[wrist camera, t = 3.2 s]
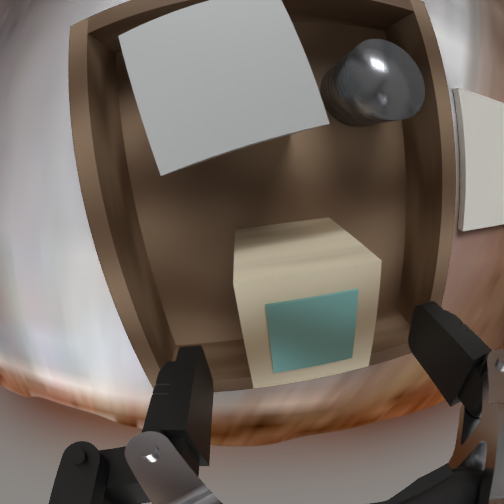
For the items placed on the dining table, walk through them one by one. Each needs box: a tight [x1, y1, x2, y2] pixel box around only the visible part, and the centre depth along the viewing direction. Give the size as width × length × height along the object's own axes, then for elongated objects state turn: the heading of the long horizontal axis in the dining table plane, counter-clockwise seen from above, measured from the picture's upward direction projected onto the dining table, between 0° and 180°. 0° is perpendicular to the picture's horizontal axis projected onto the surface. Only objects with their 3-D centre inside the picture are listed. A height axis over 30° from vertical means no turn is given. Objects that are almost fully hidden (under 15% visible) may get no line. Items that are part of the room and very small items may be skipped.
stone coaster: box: [453, 88, 504, 231], centre depth 13 cm, size 10×10×1 cm
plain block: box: [118, 0, 330, 176], centre depth 9 cm, size 5×5×6 cm
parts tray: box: [69, 0, 456, 392], centre depth 12 cm, size 20×17×4 cm
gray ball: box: [320, 39, 425, 127], centre depth 10 cm, size 4×4×4 cm
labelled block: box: [233, 217, 382, 388], centre depth 12 cm, size 5×5×6 cm
